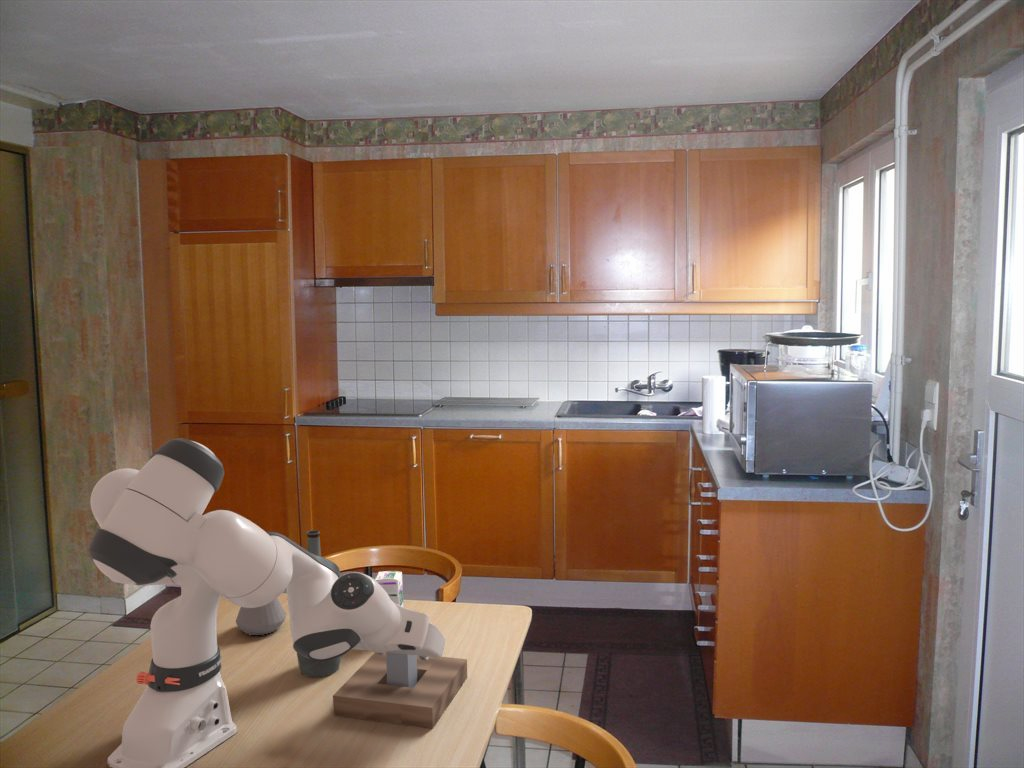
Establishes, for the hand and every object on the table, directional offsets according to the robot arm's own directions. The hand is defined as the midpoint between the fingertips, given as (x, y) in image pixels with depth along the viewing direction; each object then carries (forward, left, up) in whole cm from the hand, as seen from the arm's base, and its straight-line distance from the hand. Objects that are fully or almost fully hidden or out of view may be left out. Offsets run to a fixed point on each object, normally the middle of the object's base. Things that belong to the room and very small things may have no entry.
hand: (403, 653), depth 162 cm
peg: (-1, 0, -9) cm, 9 cm away
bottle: (+7, +22, -9) cm, 25 cm away
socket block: (0, 0, -9) cm, 9 cm away
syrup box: (+26, +14, -9) cm, 30 cm away
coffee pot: (+24, +41, -9) cm, 48 cm away
